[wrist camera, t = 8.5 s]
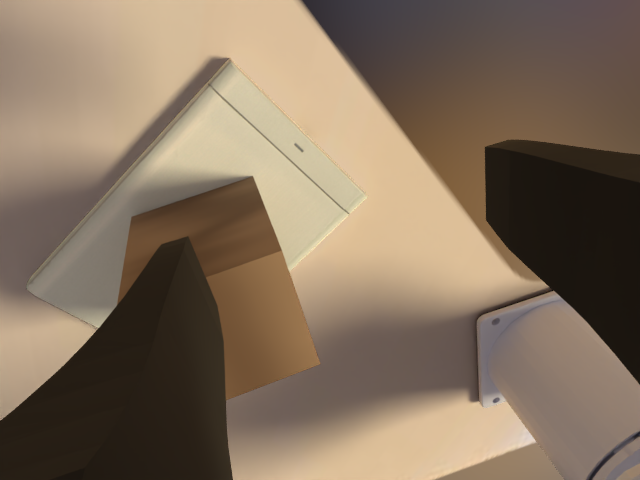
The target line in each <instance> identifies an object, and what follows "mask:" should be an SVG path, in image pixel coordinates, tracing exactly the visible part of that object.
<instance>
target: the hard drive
mask: <svg viewBox="0 0 640 480" xmlns="http://www.w3.org/2000/svg"><path fill="white" fill-rule="evenodd" d="M252 176H253V177H254V180H255V183H256V185H257V188H258V190H259V193H260V195H261V198H262V201H263V203H264V206H265V208H266V211H267V213H268V216H269V218H270V221H271V224H272V226H273V229H274V231H275V234H276V236H277V239H278V242H279V244H280V247H281V249H282V252H283V255H284V258H285V261H286V264H287V267H288V270H289V272H290V271H291V270H292V269H293V268H294V267H295V266H296V265H297V264H298V263H299V262H300V261H301V260H302V259H303V258H305V257H306V256H307V255H308V254H309V253H310V252H311V251H312V250H313V249H314V248H315V247H316V246H317V245H318V244H319V243H320V242H321V241H322V240H323V239H324V238H326V237H327V236H328V235H329V234H330V233H331V232H332V231H333V230H334V229H335V228H336V227H337V226H338V225H339V224H340V223H341V222H342V221H344V220H345V219H346V218H347V217H348V216H349V214H350V213H351V212H353V211H354V210H355V209H356V208H357V207H358V206H359V205H360V204H361V203H362V202H363V201H364V200H365V199H366V198H367V197H368V196H367V194H366V192H365V191H364V190H363V189H362V188H361V187H360V186H359V185H358V184H357V183H356V182H355V181H354V180H353V179H352V178H351V177H350V176H349V175H348V174H347V173H346V172H345V171H344V170H343V169H342V168H341V167H340V166H339V165H338V164H337V163H336V162H335V161H334V160H333V159H332V158H331V157H330V156H329V155H327V154H326V153H325V152H324V151H323V150H322V149H321V148H320V147H319V146H318V145H317V144H316V143H315V142H314V141H313V140H312V139H311V138H310V137H309V136H308V135H307V134H306V133H305V132H304V131H303V130H302V129H301V128H300V127H299V126H298V125H297V124H296V123H295V122H294V121H293V120H292V119H291V118H290V117H289V116H288V115H287V114H286V113H285V112H284V111H283V110H282V109H281V108H280V107H279V106H278V105H277V104H276V103H275V102H274V101H273V100H272V99H271V98H270V97H269V96H268V95H267V94H266V93H265V92H264V91H263V90H262V89H261V88H260V87H259V86H258V85H257V84H256V83H255V82H254V81H253V80H252V79H251V78H250V77H249V76H248V75H247V74H246V73H245V72H244V71H243V70H242V69H241V68H240V67H239V66H238V65H237V64H236V63H235V62H234V61H233V60H232V59H231V58H229V59H228V60H227V61H226V62H225V63H224V64H223V65H222V66H221V68H220V69H219V70H218V71H217V72H216V73H215V74H214V75H213V76H212V78H211V79H210V80H209V81H208V82H207V83H206V84H205V85H204V86H203V87H202V89H201V90H200V91H199V92H198V93H197V94H196V95H195V96H194V97H193V98H192V99H191V100H190V101H189V103H188V104H187V105H186V106H185V107H184V108H183V109H182V110H181V111H180V112H179V114H178V115H177V116H176V117H175V118H174V119H173V120H172V121H171V122H170V123H169V125H168V126H167V127H166V128H165V129H164V130H163V131H162V132H161V133H160V134H159V136H158V137H157V138H156V139H155V140H154V141H153V142H152V143H151V144H150V145H149V147H148V148H147V149H146V150H145V151H144V152H143V153H142V154H141V155H140V156H139V158H138V159H137V160H136V161H135V162H134V163H133V164H132V165H131V166H130V168H129V169H128V170H127V171H126V172H125V173H124V174H123V175H122V176H121V177H120V179H119V180H118V181H117V182H116V183H115V184H114V185H113V186H112V188H111V189H110V190H109V191H108V192H107V193H106V194H105V195H104V196H103V197H102V199H101V200H100V201H99V202H98V203H97V204H96V205H95V206H94V207H93V208H92V210H91V211H90V212H89V213H88V214H87V215H86V216H85V217H84V218H83V219H82V221H81V222H80V223H79V224H78V225H77V226H76V227H75V228H74V229H73V231H72V232H71V233H70V234H69V235H68V236H67V237H66V238H65V239H64V240H63V242H62V243H61V244H60V245H59V246H58V247H57V248H56V249H55V250H54V252H53V253H52V254H51V255H50V256H49V257H48V258H47V259H46V260H45V262H44V263H43V264H42V265H41V266H40V267H39V268H38V269H37V270H36V272H35V273H34V274H33V275H32V276H31V277H30V279H29V281H28V282H27V285H26V289H27V290H28V291H29V292H30V293H32V294H33V295H35V296H36V297H38V298H40V299H42V300H44V301H46V302H48V303H50V304H51V305H53V306H55V307H57V308H59V309H61V310H63V311H65V312H67V313H69V314H71V315H73V316H75V317H77V318H79V319H81V320H83V321H85V322H87V323H89V324H91V325H93V326H95V327H97V328H99V327H100V326H101V325H102V324H103V322H104V321H105V320H106V319H107V317H108V316H109V315H110V313H111V312H112V311H113V310H114V308H115V307H116V306H117V302H118V295H119V289H120V283H121V277H122V271H123V265H124V259H125V253H126V246H127V240H128V234H129V228H130V222H131V217H132V216H135V215H138V214H141V213H144V212H147V211H150V210H153V209H156V208H159V207H162V206H165V205H168V204H171V203H174V202H177V201H180V200H183V199H186V198H189V197H192V196H195V195H198V194H201V193H204V192H207V191H210V190H213V189H216V188H219V187H222V186H225V185H228V184H231V183H234V182H237V181H240V180H243V179H246V178H249V177H252Z"/></svg>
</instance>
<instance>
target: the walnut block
mask: <svg viewBox="0 0 640 480" xmlns="http://www.w3.org/2000/svg"><path fill="white" fill-rule="evenodd" d="M187 236H188V237H189V239H190V241H191V244H192V246H193V248H194V251H195V253H196V256H197V258H198V260H199V263H200V265H201V267H202V270H203V272H204V275H205V277H206V279H207V282H208V284H209V286H210V289H211V291H212V294H213V296H214V298H215V301H216V303H217V306H218V311H219V317H220V322H221V328H222V334H223V340H224V360H225V391H226V400H228V399H230V398H233V397H236V396H238V395H241V394H244V393H246V392H249V391H251V390H254V389H257V388H259V387H262V386H264V385H267V384H270V383H272V382H275V381H278V380H280V379H283V378H285V377H288V376H291V375H293V374H296V373H299V372H301V371H304V370H306V369H309V368H312V367H314V366H317V365H319V364H320V361H319V358H318V355H317V352H316V349H315V346H314V344H313V341H312V338H311V335H310V332H309V329H308V326H307V323H306V320H305V317H304V314H303V311H302V308H301V305H300V302H299V299H298V296H297V293H296V290H295V287H294V284H293V282H292V279H291V276H290V273H289V270H288V267H287V264H286V261H285V258H284V255H283V252H282V249H281V247H280V244H279V242H278V239H277V236H276V234H275V231H274V229H273V226H272V224H271V221H270V218H269V216H268V213H267V211H266V208H265V206H264V203H263V201H262V198H261V195H260V193H259V190H258V188H257V185H256V183H255V180H254V177H253V176H252V177H249V178H246V179H243V180H240V181H237V182H234V183H231V184H228V185H225V186H222V187H219V188H216V189H213V190H210V191H207V192H204V193H201V194H198V195H195V196H192V197H189V198H186V199H183V200H180V201H177V202H174V203H171V204H168V205H165V206H162V207H159V208H156V209H153V210H150V211H147V212H144V213H141V214H138V215H135V216H132V217H131V222H130V228H129V234H128V240H127V246H126V253H125V259H124V265H123V271H122V277H121V283H120V289H119V295H118V302H117V305H118V303H119V302H120V301H121V300H122V298H123V297H124V296H125V295H126V293H127V292H128V290H129V289H130V288H131V286H132V285H133V283H134V282H135V280H136V279H137V278H138V276H139V275H140V273H141V272H142V271H143V269H144V268H145V266H146V265H147V263H148V262H149V260H150V259H151V257H152V256H153V255H154V253H155V252H156V250H157V249H158V248H159V247H160V245H161V244H164V243H167V242H170V241H174V240H177V239H180V238H183V237H187Z"/></svg>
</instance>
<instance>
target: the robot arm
mask: <svg viewBox="0 0 640 480" xmlns="http://www.w3.org/2000/svg"><path fill="white" fill-rule="evenodd" d="M485 179H486V220H487V222H488V223H489V225H490V226H491V227H492V228H493V230H494V231H495V232H496V234H497V235H498V236H499V237H500V239H501V240H502V241H503V243H504V244H505V245H506V246H507V247H508V249H509V250H510V251H511V252H513V253H514V254H515V255H516V256H517V257H518V258H519V259H520V260H521V261H522V262H523V263H524V264H525V265H526V266H527V267H528V268H530V269H531V270H532V271H533V272H534V273H535V274H536V275H537V276H538V277H539V278H540V279H541V280H543V281H544V282H545V283H546V284H547V285H548V286H549V287H550V288H551V289H552V290H554V291H552V292H549V293H546V294H543V295H540V296H537V297H534V298H531V299H528V300H525V301H522V302H519V303H516V304H513V305H510V306H507V307H504V308H501V309H498V310H495V311H492V312H489V313H486V314H484V315H482V316H480V317H479V319H478V320H477V347H478V377H479V402H480V404H481V405H482V407H484V408H488V407H492V406H494V405H497V404H500V403H503V402H505V401H507V402H508V404H509V405H510V406H511V408H512V409H513V410H514V412H515V413H516V415H517V416H518V417H519V419H520V420H521V421H522V423H523V424H524V425H525V427H526V428H527V430H528V431H529V432H530V434H531V435H532V436H533V438H534V439H535V440H536V442H537V443H538V445H539V446H540V447H541V449H542V450H543V451H544V452H545V454H546V455H547V456H548V458H549V460H550V461H551V462H552V464H553V465H554V466H555V468H556V469H557V470H558V472H559V473H560V475H561V476H562V477H563V478H564V480H640V155H637V154H628V153H619V152H611V151H603V150H596V149H589V148H582V147H575V146H568V145H560V144H553V143H546V142H538V141H528V140H506V141H503V142H500V143H497V144H493V145H490V146H487V147H485ZM0 480H233V477H232V470H231V463H230V456H229V449H228V438H227V423H226V391H225V360H224V340H223V334H222V328H221V322H220V317H219V311H218V306H217V303H216V301H215V298H214V296H213V294H212V291H211V289H210V286H209V284H208V282H207V279H206V277H205V275H204V272H203V270H202V267H201V265H200V263H199V260H198V258H197V256H196V253H195V251H194V248H193V246H192V244H191V241H190V239H189V237H188V236H187V237H183V238H180V239H177V240H174V241H170V242H167V243H164V244H161V245H160V247H159V248H158V249H157V250H156V252H155V253H154V255H153V256H152V257H151V259H150V260H149V262H148V263H147V265H146V266H145V268H144V269H143V271H142V272H141V273H140V275H139V276H138V278H137V279H136V280H135V282H134V283H133V285H132V286H131V288H130V289H129V290H128V292H127V293H126V295H125V296H124V297H123V298H122V300H121V301H120V302H119V303H118V305H117V306H116V307H115V308H114V310H113V311H112V312H111V313H110V315H109V316H108V317H107V319H106V320H105V321H104V322H103V324H102V325H101V326H100V327H99V328H98V330H97V331H96V332H95V333H94V334H93V335H92V336H91V338H90V339H89V340H88V341H87V342H86V343H85V344H84V345H83V346H82V347H81V348H80V349H79V350H78V351H77V352H76V353H75V354H74V355H73V357H72V358H71V359H70V360H69V361H68V362H67V363H66V364H65V365H64V366H63V367H62V368H61V369H59V370H58V371H57V372H56V373H55V374H54V375H53V376H52V377H51V378H50V379H48V380H47V381H46V382H45V383H44V384H43V385H42V386H41V387H39V388H38V389H37V390H36V391H35V392H34V393H33V394H32V395H30V396H29V397H28V398H27V399H26V400H25V401H24V402H23V403H21V404H20V405H19V406H18V407H17V408H16V409H14V410H13V411H12V412H11V413H10V414H8V415H7V416H6V417H4V418H3V419H2V420H1V421H0Z"/></svg>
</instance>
